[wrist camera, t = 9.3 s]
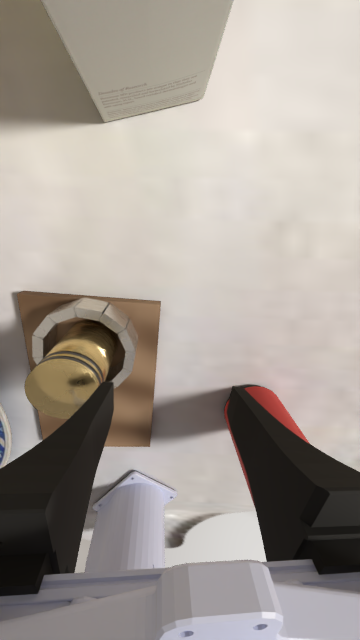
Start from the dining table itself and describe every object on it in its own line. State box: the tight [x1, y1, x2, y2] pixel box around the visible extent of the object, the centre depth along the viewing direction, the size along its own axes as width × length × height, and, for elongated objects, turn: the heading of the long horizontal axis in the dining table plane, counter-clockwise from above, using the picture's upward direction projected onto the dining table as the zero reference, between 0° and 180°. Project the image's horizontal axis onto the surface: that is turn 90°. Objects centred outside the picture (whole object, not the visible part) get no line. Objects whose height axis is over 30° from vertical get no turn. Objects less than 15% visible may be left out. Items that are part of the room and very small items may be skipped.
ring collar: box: [32, 298, 138, 388], centre depth 19 cm, size 8×8×2 cm
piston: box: [25, 319, 118, 419], centre depth 17 cm, size 5×5×7 cm
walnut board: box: [17, 291, 161, 447], centre depth 23 cm, size 18×12×1 cm, turn 174°
